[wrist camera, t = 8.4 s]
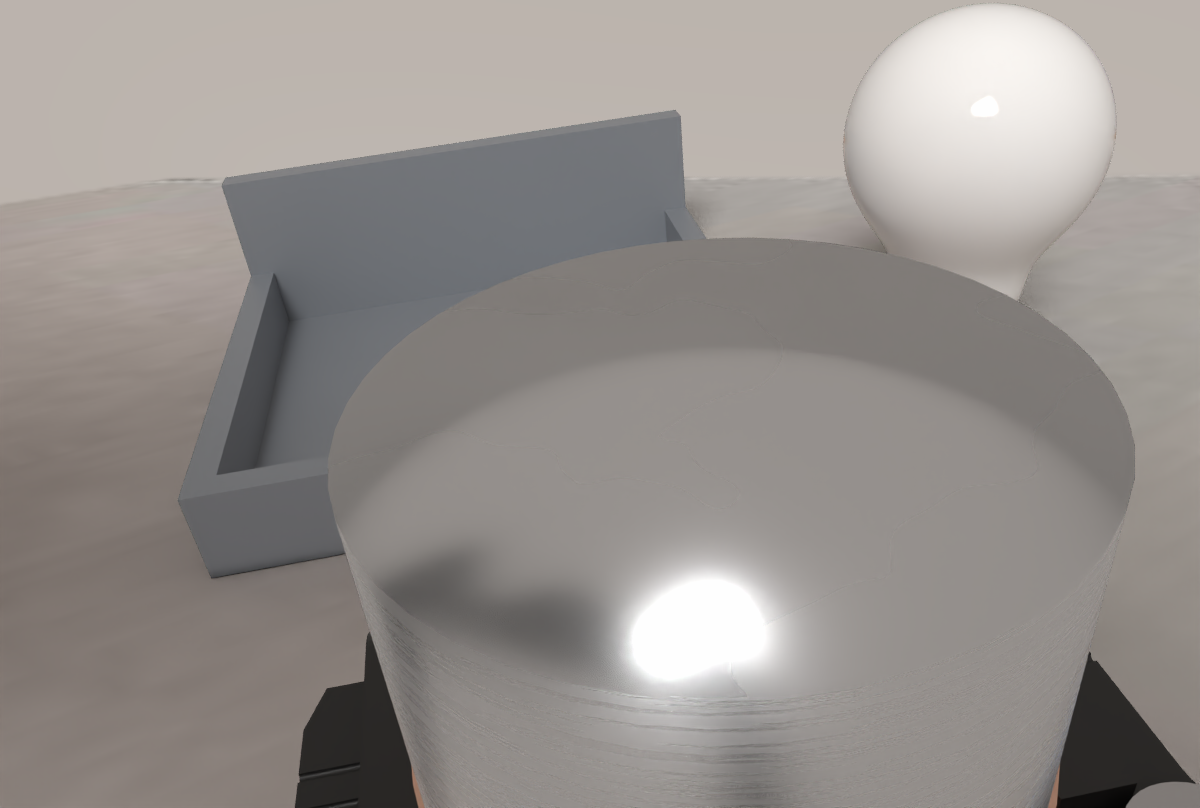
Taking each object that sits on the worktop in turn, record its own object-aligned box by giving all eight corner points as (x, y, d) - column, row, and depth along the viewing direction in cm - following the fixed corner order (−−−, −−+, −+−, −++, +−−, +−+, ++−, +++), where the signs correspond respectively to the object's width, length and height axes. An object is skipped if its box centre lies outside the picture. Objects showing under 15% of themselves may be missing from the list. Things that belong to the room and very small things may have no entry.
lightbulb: (848, 337, 32) (864, -17, 26) (1057, 354, 30) (1127, -28, 24) (819, 449, 27) (830, 44, 21) (1066, 478, 25) (1158, 37, 19)
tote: (211, 578, 25) (126, 383, 22) (274, 329, 37) (225, 177, 34) (804, 469, 27) (808, 269, 23) (684, 261, 38) (675, 109, 35)
